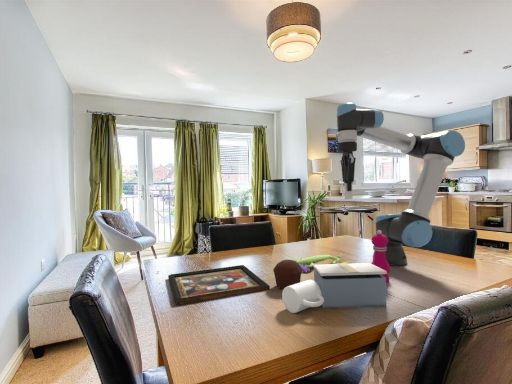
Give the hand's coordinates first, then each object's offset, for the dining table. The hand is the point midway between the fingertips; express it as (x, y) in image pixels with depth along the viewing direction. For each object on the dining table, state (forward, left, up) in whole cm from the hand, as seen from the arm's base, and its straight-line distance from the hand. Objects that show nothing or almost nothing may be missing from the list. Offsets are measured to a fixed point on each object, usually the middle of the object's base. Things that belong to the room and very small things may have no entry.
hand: (348, 198), depth 120 cm
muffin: (+27, +10, -33) cm, 44 cm away
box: (+8, +23, -32) cm, 41 cm away
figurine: (+9, -14, -33) cm, 37 cm away
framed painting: (+56, +5, -33) cm, 65 cm away
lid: (+8, +23, -23) cm, 33 cm away
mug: (+23, +31, -33) cm, 51 cm away
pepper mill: (-10, +6, -33) cm, 35 cm away
